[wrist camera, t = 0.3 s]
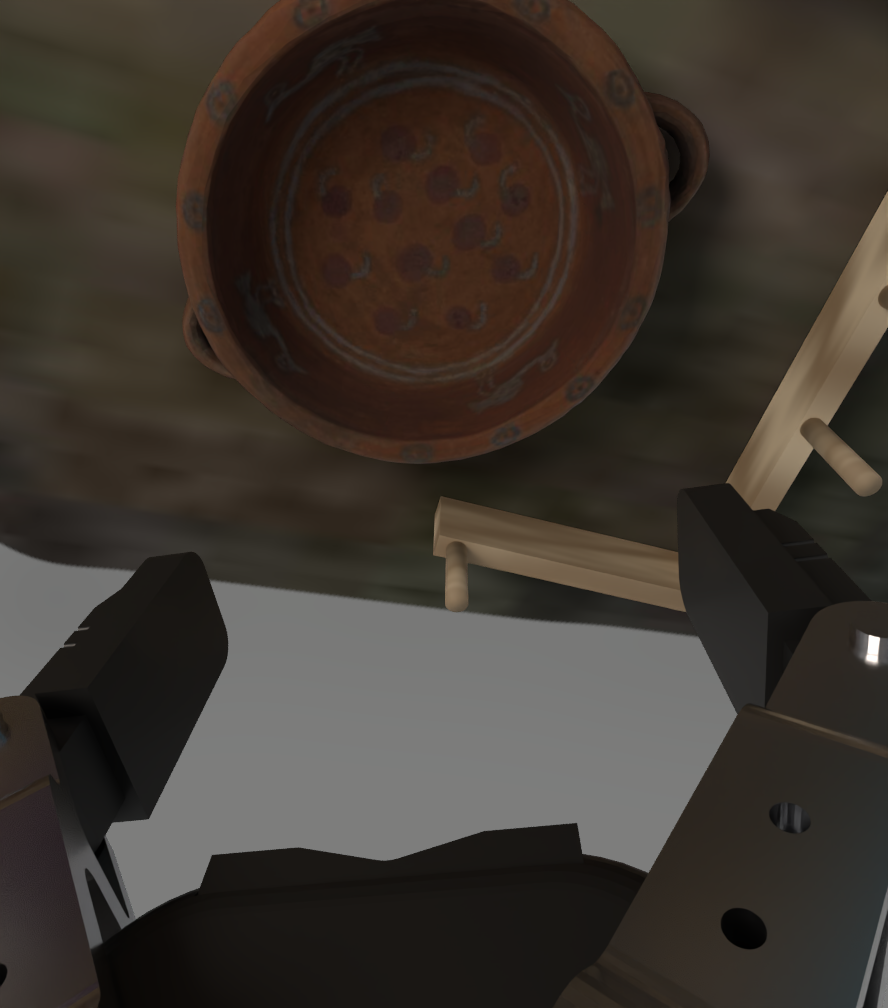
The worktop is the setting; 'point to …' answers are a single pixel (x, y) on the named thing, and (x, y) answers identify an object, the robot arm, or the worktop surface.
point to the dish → (426, 218)
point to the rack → (756, 477)
